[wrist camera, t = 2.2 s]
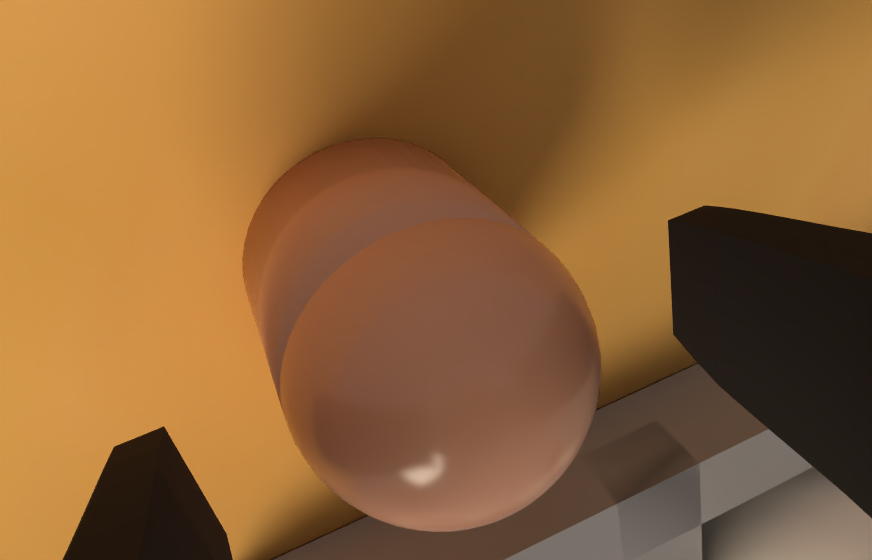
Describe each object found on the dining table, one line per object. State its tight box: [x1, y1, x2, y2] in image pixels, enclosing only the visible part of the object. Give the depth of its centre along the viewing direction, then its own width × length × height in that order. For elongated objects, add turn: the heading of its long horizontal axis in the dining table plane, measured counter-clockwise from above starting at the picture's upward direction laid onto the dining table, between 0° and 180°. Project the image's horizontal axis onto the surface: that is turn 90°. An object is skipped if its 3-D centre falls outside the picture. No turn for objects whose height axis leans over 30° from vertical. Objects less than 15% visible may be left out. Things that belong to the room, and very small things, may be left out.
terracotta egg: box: [243, 138, 601, 532], centre depth 11 cm, size 4×4×6 cm
